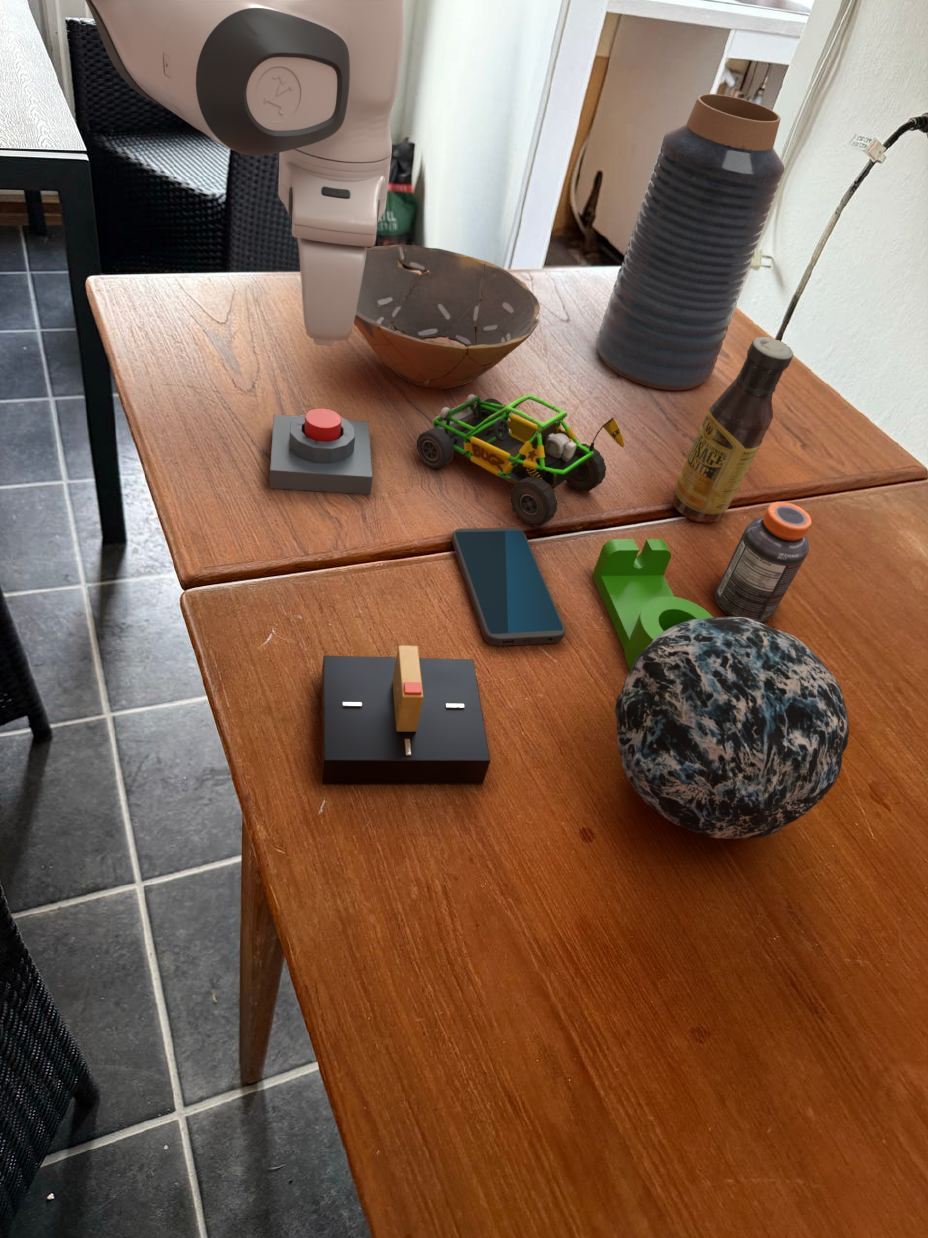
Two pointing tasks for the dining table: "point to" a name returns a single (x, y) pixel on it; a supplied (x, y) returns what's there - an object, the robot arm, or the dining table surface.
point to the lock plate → (366, 724)
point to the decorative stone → (730, 727)
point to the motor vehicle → (517, 451)
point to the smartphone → (507, 587)
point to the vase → (692, 244)
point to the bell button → (322, 425)
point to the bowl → (441, 313)
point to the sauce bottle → (731, 434)
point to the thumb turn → (407, 689)
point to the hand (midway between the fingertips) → (323, 338)
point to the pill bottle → (765, 563)
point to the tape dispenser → (640, 593)
